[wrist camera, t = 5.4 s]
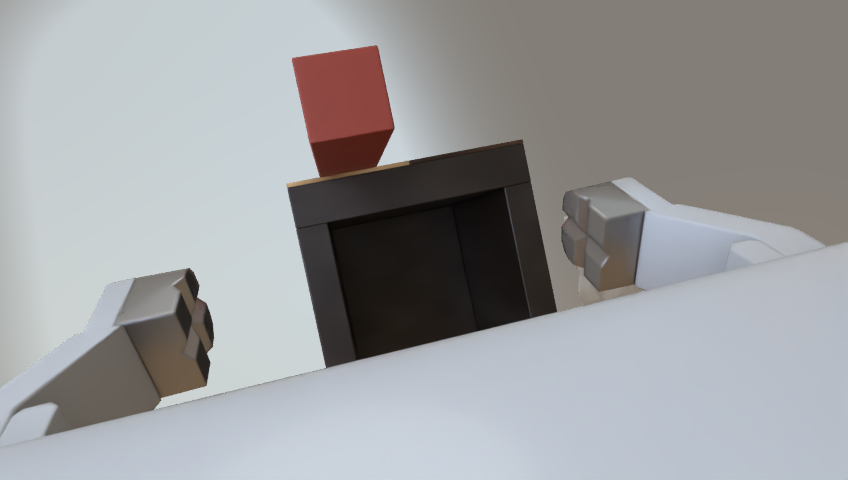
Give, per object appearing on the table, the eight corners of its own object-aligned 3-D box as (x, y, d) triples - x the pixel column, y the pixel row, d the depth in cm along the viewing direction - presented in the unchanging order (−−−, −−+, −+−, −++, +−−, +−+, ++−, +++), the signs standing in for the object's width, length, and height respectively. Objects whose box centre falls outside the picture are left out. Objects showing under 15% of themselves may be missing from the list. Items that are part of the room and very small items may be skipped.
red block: (309, 143, 17) (291, 57, 17) (326, 200, 38) (318, 163, 38) (395, 128, 17) (377, 44, 17) (364, 193, 39) (356, 156, 39)
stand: (399, 710, 26) (286, 183, 25) (378, 546, 39) (305, 205, 39) (622, 631, 27) (522, 139, 27) (527, 501, 41) (460, 175, 41)
